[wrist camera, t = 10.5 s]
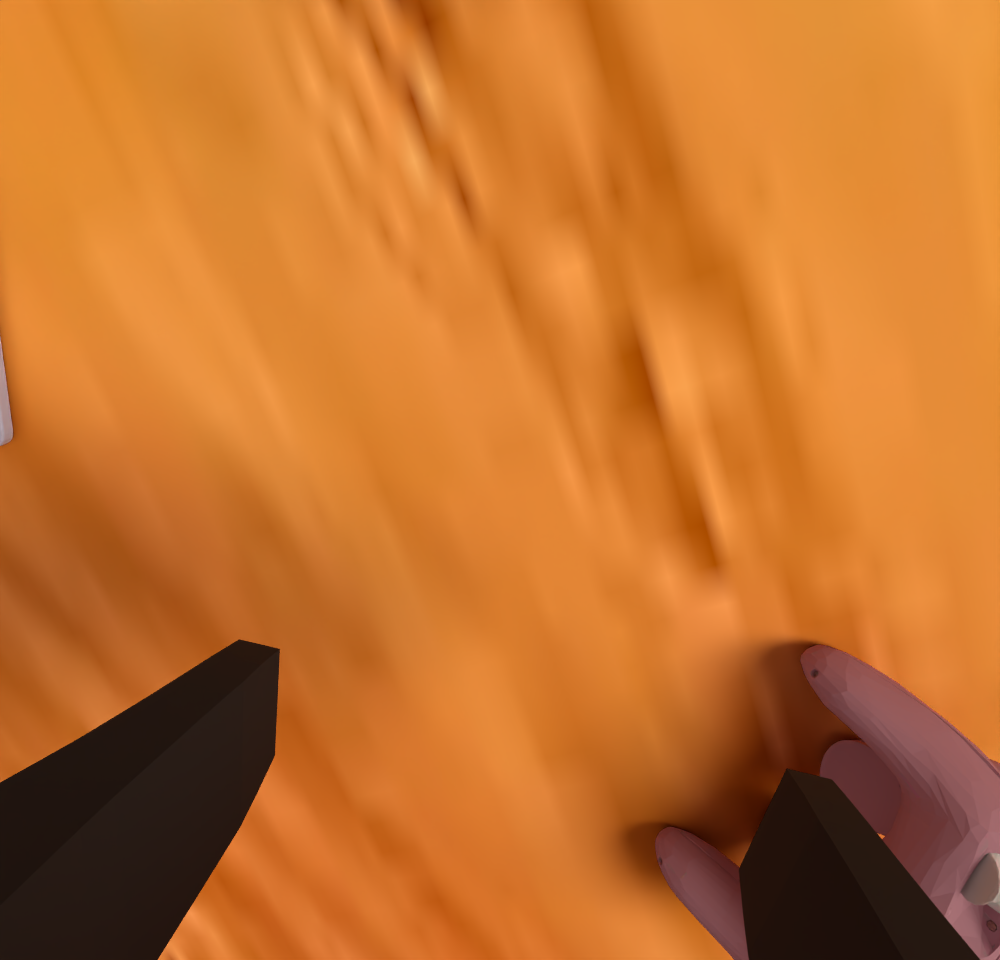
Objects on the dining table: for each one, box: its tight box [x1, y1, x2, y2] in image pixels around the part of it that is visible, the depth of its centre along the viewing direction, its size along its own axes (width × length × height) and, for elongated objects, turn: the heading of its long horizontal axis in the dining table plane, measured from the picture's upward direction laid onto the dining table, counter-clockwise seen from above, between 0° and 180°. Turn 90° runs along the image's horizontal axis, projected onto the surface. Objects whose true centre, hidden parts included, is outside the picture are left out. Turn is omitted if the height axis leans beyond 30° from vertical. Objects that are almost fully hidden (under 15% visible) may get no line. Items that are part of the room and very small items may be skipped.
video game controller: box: [655, 645, 1000, 960], centre depth 18 cm, size 10×5×7 cm, turn 157°
